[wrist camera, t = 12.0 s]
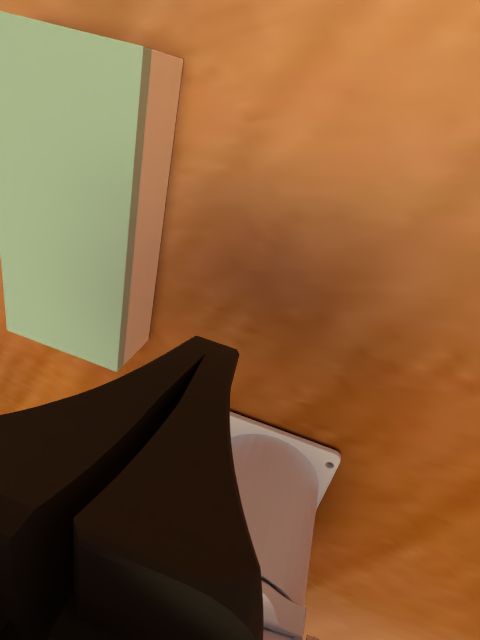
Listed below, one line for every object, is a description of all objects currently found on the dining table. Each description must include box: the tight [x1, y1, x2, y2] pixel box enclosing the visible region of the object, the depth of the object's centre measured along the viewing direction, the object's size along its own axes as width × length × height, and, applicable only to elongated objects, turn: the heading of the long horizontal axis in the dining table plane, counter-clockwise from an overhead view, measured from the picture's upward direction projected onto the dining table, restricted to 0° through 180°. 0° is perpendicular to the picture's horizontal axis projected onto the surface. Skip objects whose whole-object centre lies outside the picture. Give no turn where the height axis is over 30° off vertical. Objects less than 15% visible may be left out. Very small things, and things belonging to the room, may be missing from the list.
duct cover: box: [0, 11, 151, 372], centre depth 19 cm, size 15×7×1 cm, turn 167°
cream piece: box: [3, 49, 183, 365], centre depth 21 cm, size 15×8×3 cm, turn 167°
